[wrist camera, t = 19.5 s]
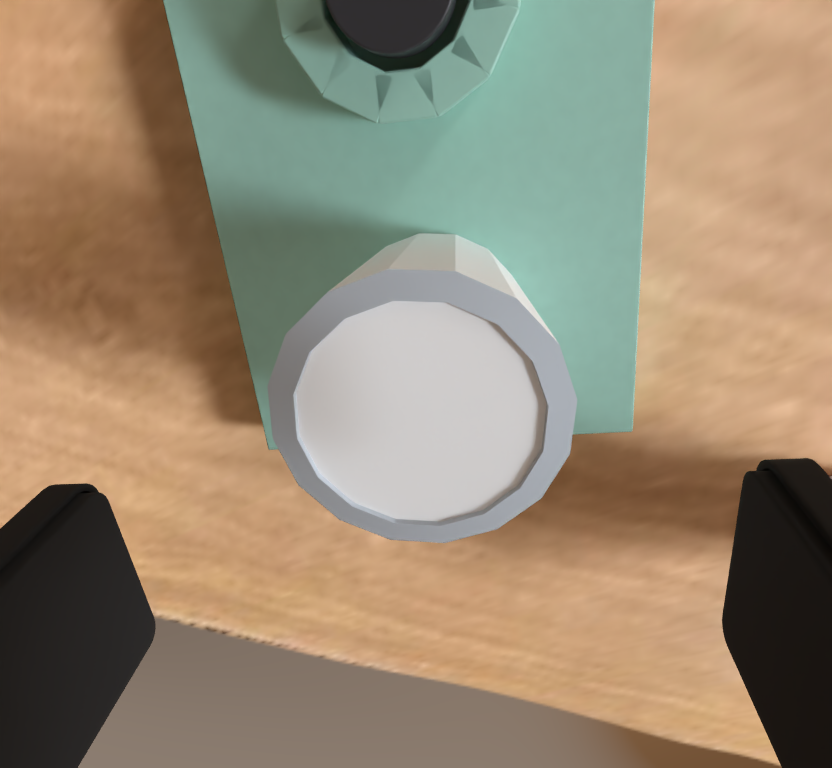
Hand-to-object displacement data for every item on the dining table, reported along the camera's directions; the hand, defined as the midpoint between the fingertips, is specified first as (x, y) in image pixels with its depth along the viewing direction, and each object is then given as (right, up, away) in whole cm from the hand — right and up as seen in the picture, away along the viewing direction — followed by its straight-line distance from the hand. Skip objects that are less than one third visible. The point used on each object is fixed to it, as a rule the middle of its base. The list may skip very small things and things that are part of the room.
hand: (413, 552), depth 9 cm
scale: (0, +8, +11) cm, 14 cm away
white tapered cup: (+1, +5, +11) cm, 12 cm away
